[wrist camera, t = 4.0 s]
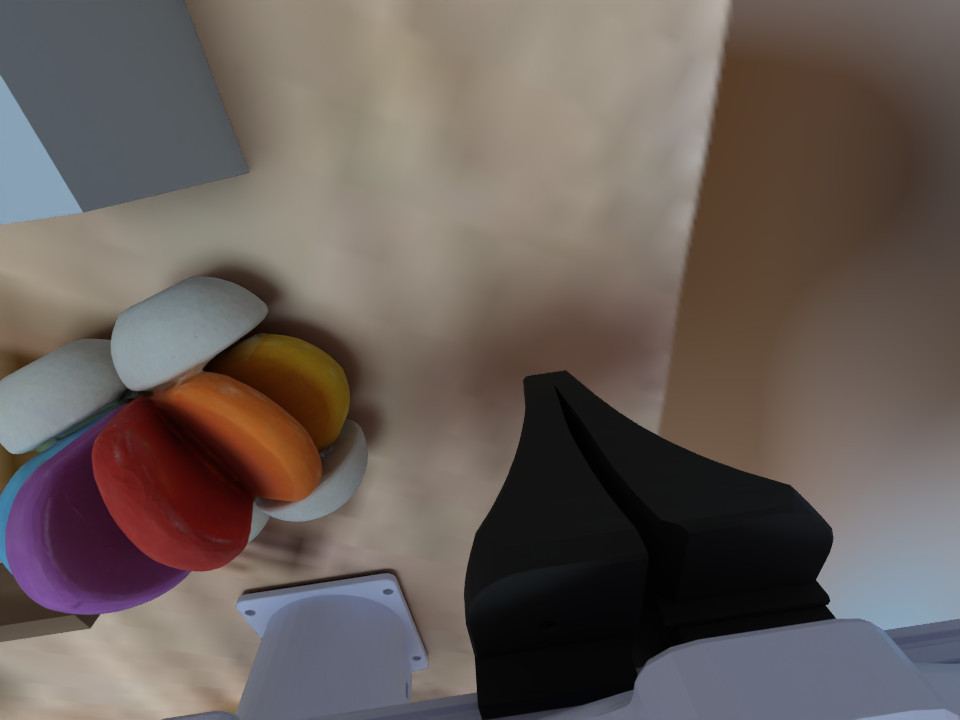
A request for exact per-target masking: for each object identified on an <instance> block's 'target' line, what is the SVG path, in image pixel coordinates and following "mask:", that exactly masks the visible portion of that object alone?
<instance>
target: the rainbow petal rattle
mask: <svg viewBox="0 0 960 720" xmlns="http://www.w3.org/2000/svg"><path fill="white" fill-rule="evenodd" d="M267 314H268V308H267V306H266V304H265V303H264V302H263V301H262V300H260V299H259V298H258V297H257V296H256V295H254V294H253V293H251V292H250V291H248V290H247V289H245V288H243V287H241V286H240V285H237V284H235V283H232V282H229V281H226V280H223V279H219V278H213V277H206V276H195V277H190V278H188V279H186V280H184V281H182V282H180V283H177V284H175V285H173V286H171V287H169V288H167V289H165V290H163V291H161V292H159V293H157V294H155V295H153V296H151V297H150V298H148V299H146V300H144V301H142V302H140V303H138V304H136V305H134V306H132V307H130V308H128V309H127V310H125V311H123V312H122V313H121V314H120V315H119V317H118V319H117V321H116V323H115V326H114V329H113V333H112V338H111V340H105V339H78V340H74V341H72V342H70V343H68V344H66V345H64V346H62V347H60V348H58V349H56V350H54V351H52V352H51V353H49V354H47V355H45V356H43V357H41V358H40V359H38V360H36V361H34V362H32V363H30V364H28V365H27V366H25V367H23V368H21V369H19V370H17V371H16V372H14V373H12V374H10V375H8V376H7V377H5V378H3V379H2V380H1V381H0V443H1V444H2V445H3V446H4V447H5V448H6V450H8V451H9V452H10V453H13V454H22V453H25V452H28V451H38V452H39V454H38V455H36V456H35V457H33V458H32V459H31V460H29V461H28V462H27V463H25V464H24V465H23V466H22V467H21V468H20V469H19V470H18V471H17V472H16V473H15V474H14V476H13V477H12V478H11V480H10V481H9V482H8V484H7V486H6V487H5V489H4V490H3V492H2V494H1V496H0V560H1V562H2V563H3V564H4V566H5V567H6V568H7V569H8V570H9V572H10V573H11V574H13V576H14V578H15V580H16V581H17V583H18V584H19V586H20V587H21V589H22V590H23V591H24V592H25V593H26V594H27V595H28V597H30V598H31V599H32V600H34V601H35V602H36V603H38V604H39V605H41V606H43V607H45V608H47V609H50V610H54V611H59V612H64V613H70V614H85V615H92V614H104V613H111V612H117V611H121V610H125V609H129V608H132V607H135V606H138V605H141V604H143V603H146V602H148V601H151V600H153V599H155V598H157V597H159V596H160V595H162V594H164V593H166V592H167V591H169V590H170V589H172V588H173V587H175V586H176V585H177V584H179V583H180V582H181V581H182V580H183V579H185V578H186V577H187V575H188V574H189V573H190V572H191V571H209V570H213V569H217V568H220V567H222V566H224V565H226V564H227V563H229V562H230V561H232V560H233V559H234V558H235V557H236V556H238V555H239V554H240V553H241V552H242V551H243V549H244V548H245V547H246V545H247V544H248V543H249V542H250V541H252V540H253V539H254V538H255V537H256V536H257V535H258V534H259V532H260V531H261V530H262V529H263V528H264V526H265V525H266V523H267V521H268V519H269V518H270V516H272V517H275V518H277V519H281V520H285V521H294V522H299V521H309V520H313V519H317V518H320V517H323V516H325V515H328V514H330V513H332V512H334V511H335V510H337V509H338V508H340V507H341V506H342V505H343V504H345V503H346V502H347V501H348V500H349V499H350V498H351V496H352V495H353V494H354V493H355V492H356V490H357V488H358V487H359V485H360V483H361V481H362V479H363V476H364V474H365V470H366V467H367V460H368V450H367V443H366V439H365V436H364V433H363V431H362V429H361V427H360V426H359V425H358V424H357V423H356V422H354V421H352V420H347V419H346V417H347V414H348V410H349V406H350V390H349V384H348V381H347V378H346V375H345V373H344V371H343V369H342V367H341V366H340V365H339V364H338V363H337V362H336V361H335V360H334V359H333V358H332V357H331V356H329V355H328V354H327V353H325V352H324V351H323V350H321V349H319V348H317V347H316V346H314V345H312V344H310V343H308V342H306V341H303V340H301V339H299V338H295V337H290V336H285V335H276V334H265V333H259V334H256V335H253V336H251V337H249V338H247V339H244V340H242V341H240V342H238V343H235V342H236V341H238V340H239V339H240V338H241V337H243V336H244V335H246V334H247V333H248V332H250V331H251V330H252V329H254V328H255V327H256V326H257V325H258V324H259V323H260V322H261V321H262V320H263V319H264V318H265V317H266V315H267ZM233 343H235V344H233ZM232 344H233V345H232Z"/></svg>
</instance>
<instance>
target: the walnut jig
mask: <svg viewBox="0 0 960 720" xmlns="http://www.w3.org/2000/svg"><path fill="white" fill-rule="evenodd" d="M99 615H100V614H92V615H85V614H70V613H64V612H59V611H54V610H50V609H47V608H45V607H43V606H41V605H39V604H38V603H36V602H35V601H34V600H32V599H31V598H30V597H28V595H27V594H26V593H25V592H24V591H23V590H22V589H21V587H20V586H19V584H18V583H17V581H16V580H15V578H14V576H13V574H11V573H10V572H9V570H8V569H7V568H6V567H5V566H4V564H0V642H4V641H10V640H17V639H23V638H30V637H36V636H43V635H50V634H56V633H63V632H69V631H76V630H83V629H89V628H91V627H92V625H93V624H94V622H95V621H96V619H97V618H98V617H99Z"/></svg>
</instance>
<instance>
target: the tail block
mask: <svg viewBox="0 0 960 720" xmlns="http://www.w3.org/2000/svg"><path fill="white" fill-rule="evenodd" d="M245 173H249V170H248V168H247V165H246V162H245V160H244V157H243V154H242V152H241V149H240V147H239V144H238V141H237V139H236V136H235V133H234V131H233V128H232V126H231V123H230V120H229V118H228V115H227V113H226V110H225V107H224V105H223V102H222V99H221V97H220V94H219V92H218V89H217V86H216V84H215V81H214V78H213V76H212V73H211V71H210V68H209V65H208V63H207V60H206V57H205V55H204V52H203V50H202V47H201V44H200V42H199V39H198V36H197V34H196V31H195V29H194V26H193V23H192V21H191V18H190V15H189V13H188V10H187V8H186V5H185V2H184V0H0V225H2V224H9V223H16V222H22V221H29V220H36V219H43V218H49V217H56V216H63V215H70V214H76V213H83V212H87V211H91V210H96V209H100V208H104V207H108V206H112V205H116V204H121V203H125V202H129V201H133V200H137V199H141V198H146V197H150V196H154V195H158V194H162V193H166V192H171V191H175V190H179V189H183V188H187V187H191V186H195V185H200V184H204V183H208V182H212V181H216V180H220V179H225V178H229V177H233V176H237V175H241V174H245Z"/></svg>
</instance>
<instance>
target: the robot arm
mask: <svg viewBox="0 0 960 720" xmlns="http://www.w3.org/2000/svg"><path fill="white" fill-rule="evenodd" d="M523 384H524V395H525V407H526V408H525V417H524V423H523V428H522V432H521V437H520V441H519V445H518V448H517V451H516V455H515V458H514V461H513V463H512V466H511V468H510V471H509V474H508V476H507V478H506V481H505V483H504V485H503V487H502V489H501V491H500V493H499V495H498V497H497V499H496V501H495V503H494V505H493V506H492V508H491V510H490V512H489V513H488V515H487V516H486V518H485V519H484V521H483V523H482V524H481V526H480V527H479V529H478V530H477V532H476V534H475V538H474V542H473V545H472V549H471V553H470V557H469V562H468V566H467V572H466V578H465V589H464V601H465V617H466V626H467V629H468V633H469V637H470V640H471V644H472V648H473V651H474V655H475V666H476V683H477V693H471V694H464V695H458V696H451V697H445V698H438V699H432V700H425V701H418V702H412V703H410V701H411V683H412V671H418V670H423V669H426V668H427V667H428V656H427V654H426V651H425V649H424V646H423V644H422V641H421V639H420V636H419V634H418V631H417V629H416V626H415V624H414V621H413V619H412V616H411V614H410V611H409V609H408V606H407V604H406V601H405V599H404V596H403V594H402V591H401V589H400V586H399V584H398V581H397V579H396V577H395V576H394V575H392V574H389V573H383V574H377V575H370V576H364V577H357V578H350V579H344V580H337V581H331V582H324V583H317V584H311V585H304V586H298V587H291V588H284V589H278V590H271V591H265V592H258V593H251V594H245V595H242V596H241V597H239V599H238V601H237V604H236V608H237V609H238V611H239V612H240V613H241V614H242V616H243V617H244V618H245V619H246V621H247V622H248V623H249V624H250V626H251V627H252V628H253V629H254V631H255V632H256V633H257V634H258V636H259V637H260V638H261V639H262V641H261V643H260V646H259V649H258V652H257V655H256V658H255V660H254V663H253V666H252V669H251V672H250V675H249V677H248V680H247V683H246V686H245V689H244V691H243V694H242V697H241V700H240V703H239V706H238V708H237V711H236V714H235V715H234V714H232V713H230V712H224V711H212V712H205V713H199V714H192V715H186V716H179V717H173V718H166V719H162V720H960V619H956V620H949V621H943V622H936V623H930V624H923V625H917V626H910V627H904V628H897V629H890V630H883V629H881V628H879V627H878V626H876V625H874V624H873V623H871V622H869V621H865V620H862V619H836V618H835V617H834V615H833V614H832V613H831V612H830V610H829V609H828V608H827V607H826V605H828V604H829V602H830V599H829V596H828V594H827V593H826V592H825V591H824V589H823V588H822V587H821V586H820V585H819V583H818V582H817V581H816V578H817V577H818V575H819V573H820V571H821V569H822V567H823V564H824V563H825V561H826V559H827V557H828V555H829V553H830V550H831V547H832V543H833V532H832V528H831V527H830V526H829V524H828V523H827V522H826V521H825V520H824V519H823V518H822V516H821V515H820V514H819V513H818V512H817V511H816V510H815V509H814V508H813V507H812V506H811V505H810V504H809V503H808V502H807V501H806V500H805V499H804V498H803V497H802V496H801V495H800V494H799V493H798V492H797V491H796V490H795V489H794V488H793V487H791V486H790V485H787V484H784V483H781V482H777V481H774V480H771V479H767V478H764V477H760V476H757V475H754V474H750V473H747V472H744V471H740V470H738V469H735V468H732V467H729V466H727V465H723V464H721V463H718V462H716V461H713V460H710V459H708V458H705V457H703V456H700V455H698V454H696V453H693V452H691V451H689V450H687V449H685V448H682V447H680V446H678V445H676V444H673V443H671V442H669V441H667V440H665V439H663V438H661V437H660V436H658V435H656V434H654V433H652V432H650V431H649V430H647V429H645V428H643V427H641V426H640V425H638V424H636V423H635V422H633V421H632V420H630V419H629V418H627V417H625V416H624V415H622V414H621V413H619V412H618V411H616V410H615V409H614V408H612V407H611V406H610V405H608V404H607V403H606V402H604V401H603V400H602V399H600V398H599V397H598V396H596V395H595V394H594V393H593V392H591V391H590V390H589V389H588V388H586V387H585V386H584V385H583V384H582V383H580V382H579V381H578V380H577V379H576V378H575V377H573V376H572V375H571V374H570V373H568V372H567V371H566V370H565V371H558V372H552V373H545V374H538V375H531V376H526V377H525V378H524V380H523Z"/></svg>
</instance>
